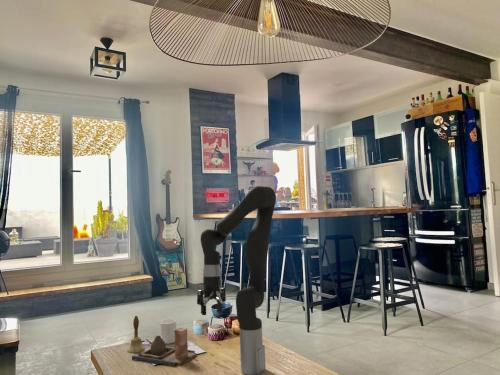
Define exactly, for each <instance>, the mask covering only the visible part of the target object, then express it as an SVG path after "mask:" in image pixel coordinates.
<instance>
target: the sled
mask: <svg viewBox="0 0 500 375" xmlns="http://www.w3.org/2000/svg"><path fill="white" fill-rule="evenodd" d="M174 331H175V342H174V347H171V346H166V351H165V354H163V355H161V356H155V355H152V354H151V347H150V348H149V349H147V350H143V351H141V352H139V355H138V356H141V357H148V358H154V359H160V360H166V361H173V362H176V366H182V365H184V364H186V363H187V362H189V361H191V360H192V359H193V358H195V357H197V355H198V354H197V352H195V353H192V352H188V350H189V349H188V348H189V347H188V346H189V344H188V328H186V327H185V328H184V327H178V328H176V330H174Z"/></svg>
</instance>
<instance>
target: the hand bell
mask: <svg viewBox="0 0 500 375" xmlns="http://www.w3.org/2000/svg"><path fill="white" fill-rule="evenodd" d="M133 318H134V319H133V322H132V323H133V329H134V332H133V333H134V335H133V337H132V338H131V340H130V345H129V347H128V348H127V353H130V354H131V353H134V354H135V353H142V352H144V351H146V350H145V349H146V347H145V346H144V345H143V343H142V338H141V337H139V333H138V332H139V326H140V325H139V324H140V321H139V318H138V315H135V316H134V317H133Z"/></svg>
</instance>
